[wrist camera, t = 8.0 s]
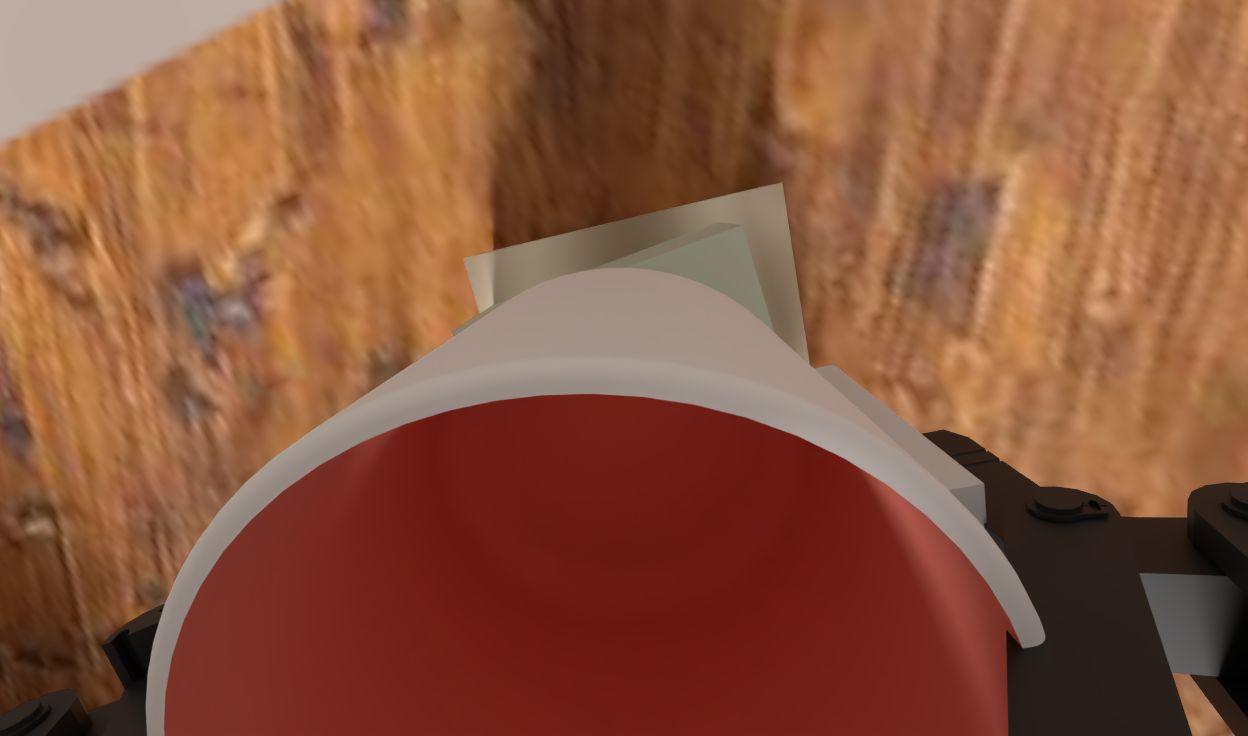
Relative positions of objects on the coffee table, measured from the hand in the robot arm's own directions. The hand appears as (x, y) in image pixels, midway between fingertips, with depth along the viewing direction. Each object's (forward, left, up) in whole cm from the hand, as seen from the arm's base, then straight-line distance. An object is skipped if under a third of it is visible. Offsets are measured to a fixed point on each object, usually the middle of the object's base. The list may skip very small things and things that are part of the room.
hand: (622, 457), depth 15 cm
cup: (0, 0, -1) cm, 1 cm away
